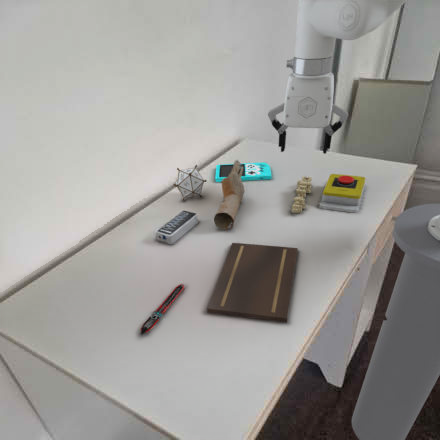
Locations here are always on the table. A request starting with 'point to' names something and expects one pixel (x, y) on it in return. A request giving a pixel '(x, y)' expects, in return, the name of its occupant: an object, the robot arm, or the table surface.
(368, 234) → the table surface
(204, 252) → the table surface
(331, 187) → the emergency button
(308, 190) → the decorative script
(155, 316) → the pen
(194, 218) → the multiport hub
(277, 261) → the board
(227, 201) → the mannequin hand
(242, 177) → the handheld game console
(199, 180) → the game die
